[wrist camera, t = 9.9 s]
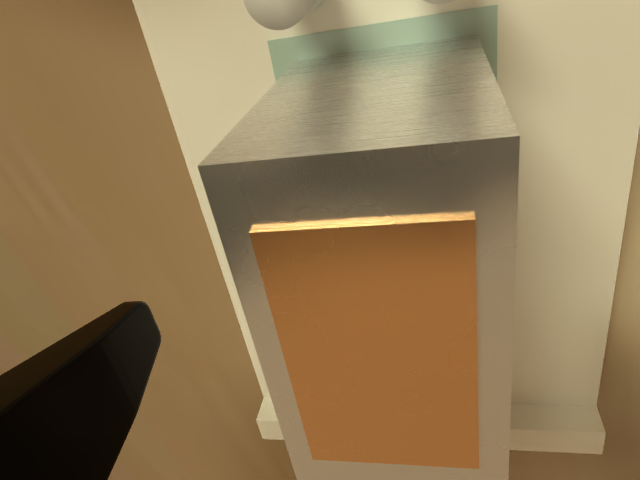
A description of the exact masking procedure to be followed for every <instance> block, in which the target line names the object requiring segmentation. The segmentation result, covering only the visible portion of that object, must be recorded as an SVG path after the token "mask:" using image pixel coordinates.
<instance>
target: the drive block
mask: <svg viewBox="0 0 640 480" xmlns="http://www.w3.org/2000/svg"><path fill="white" fill-rule="evenodd" d="M519 149H520V135H519V132H518V130H517V128H516V125H515V123H514V121H513V118H512V116H511V114H510V111H509V109H508V107H507V104H506V102H505V100H504V97H503V95H502V93H501V90H500V88H499V86H498V83H497V81H496V78H495V76H494V74H493V71H492V69H491V67H490V64H489V62H488V60H487V57H486V55H485V53H484V50H483V48H482V46H481V43H480V41H479V39H478V36H477V35H472V36H465V37H458V38H451V39H443V40H436V41H429V42H422V43H415V44H408V45H401V46H394V47H387V48H380V49H373V50H366V51H359V52H352V53H345V54H338V55H331V56H324V57H317V58H310V59H303V60H296V61H295V62H294V63H293V64H292V65H291V66H290V68H289V69H288V70H287V71H286V72H285V73H284V74H283V75H282V76H281V77H280V78H279V79H278V80H277V81H276V83H275V84H274V85H273V86H272V87H271V88H270V89H269V90H268V91H267V92H266V93H265V94H264V95H263V96H262V98H261V99H260V100H259V101H258V102H257V103H256V104H255V105H254V106H253V107H252V108H251V109H250V110H249V111H248V113H247V114H246V115H245V116H244V117H243V118H242V119H241V120H240V121H239V122H238V123H237V124H236V125H235V126H234V128H233V129H232V130H231V131H230V132H229V133H228V134H227V135H226V136H225V137H224V138H223V139H222V140H221V141H220V143H219V144H218V145H217V146H216V147H215V148H214V149H213V150H212V151H211V152H210V153H209V154H208V155H207V156H206V157H205V159H204V160H203V161H202V162H201V163H200V164H199V165H198V169H199V173H200V176H201V179H202V182H203V185H204V188H205V192H206V195H207V198H208V201H209V204H210V207H211V210H212V214H213V217H214V220H215V223H216V226H217V229H218V233H219V236H220V239H221V242H222V245H223V248H224V252H225V255H226V258H227V261H228V264H229V267H230V270H231V274H232V277H233V280H234V283H235V286H236V289H237V293H238V296H239V299H240V302H241V305H242V308H243V311H244V315H245V318H246V321H247V324H248V327H249V330H250V334H251V337H252V340H253V343H254V346H255V349H256V353H257V356H258V359H259V362H260V365H261V368H262V371H263V375H264V378H265V381H266V384H267V387H268V390H269V394H270V397H271V400H272V403H273V406H274V409H275V412H276V416H277V419H278V422H279V425H280V428H281V431H282V435H283V438H284V441H285V444H286V447H287V450H288V454H289V457H290V460H291V463H292V466H293V469H294V472H295V476H296V479H297V480H508V479H509V449H510V419H511V389H512V359H513V329H514V299H515V269H516V239H517V209H518V179H519Z"/></svg>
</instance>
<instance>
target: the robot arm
mask: <svg viewBox="0 0 640 480" xmlns="http://www.w3.org/2000/svg"><path fill="white" fill-rule="evenodd" d="M160 342H161V335H160V331H159V329H158V326H157V324H156V322H155V320H154V317H153V315H152V313H151V310H150V308H149V306H148V305H147V304H146V303H145V302H142V301H132V302H124V303H122V304H120V305H118V306H117V307H115V308H113V309H112V310H110V311H108V312H106V313H105V314H103V315H101V316H100V317H98V318H96V319H95V320H93V321H91V322H90V323H88V324H86V325H85V326H83V327H81V328H80V329H78V330H76V331H74V332H73V333H71V334H69V335H68V336H66V337H64V338H63V339H61V340H59V341H58V342H56V343H54V344H53V345H51V346H49V347H48V348H46V349H44V350H42V351H41V352H39V353H37V354H36V355H34V356H32V357H31V358H29V359H27V360H26V361H24V362H22V363H21V364H19V365H17V366H16V367H14V368H12V369H10V370H9V371H7V372H5V373H4V374H2V375H0V480H108V478H109V475H110V473H111V471H112V469H113V466H114V464H115V462H116V460H117V457H118V455H119V453H120V451H121V449H122V446H123V444H124V442H125V440H126V437H127V435H128V433H129V431H130V428H131V426H132V424H133V422H134V419H135V417H136V414H137V412H138V409H139V406H140V404H141V401H142V398H143V395H144V392H145V389H146V386H147V383H148V380H149V377H150V374H151V371H152V368H153V365H154V362H155V359H156V356H157V353H158V350H159V347H160Z"/></svg>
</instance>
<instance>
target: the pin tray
mask: <svg viewBox="0 0 640 480" xmlns="http://www.w3.org/2000/svg"><path fill="white" fill-rule="evenodd" d="M132 1H133V4H134V7H135V10H136V13H137V16H138V19H139V22H140V25H141V28H142V31H143V34H144V37H145V40H146V43H147V46H148V49H149V52H150V55H151V58H152V61H153V64H154V67H155V70H156V73H157V76H158V79H159V82H160V85H161V88H162V91H163V94H164V97H165V100H166V103H167V106H168V109H169V112H170V115H171V118H172V122H173V125H174V128H175V131H176V134H177V137H178V140H179V143H180V146H181V149H182V152H183V155H184V158H185V161H186V164H187V167H188V170H189V173H190V176H191V179H192V182H193V185H194V188H195V191H196V194H197V197H198V200H199V203H200V206H201V209H202V212H203V215H204V218H205V221H206V224H207V227H208V230H209V233H210V236H211V239H212V242H213V245H214V248H215V251H216V254H217V257H218V261H219V264H220V267H221V270H222V273H223V276H224V279H225V282H226V285H227V288H228V291H229V294H230V297H231V300H232V303H233V306H234V309H235V312H236V315H237V318H238V321H239V324H240V327H241V330H242V333H243V336H244V339H245V342H246V345H247V348H248V351H249V354H250V357H251V360H252V363H253V366H254V369H255V372H256V375H257V378H258V381H259V384H260V387H261V390H262V393H263V397H264V399H263V402H262V404H261V407H260V410H259V413H258V416H257V419H256V421H257V424H258V427H259V430H260V433H261V436H262V438H263V439H276V440H284V438H283V435H282V431H281V428H280V425H279V422H278V419H277V416H276V412H275V409H274V406H273V403H272V400H271V397H270V394H269V390H268V387H267V384H266V381H265V378H264V375H263V371H262V368H261V365H260V362H259V359H258V356H257V353H256V349H255V346H254V343H253V340H252V337H251V334H250V330H249V327H248V324H247V321H246V318H245V315H244V311H243V308H242V305H241V302H240V299H239V296H238V293H237V289H236V286H235V283H234V280H233V277H232V274H231V270H230V267H229V264H228V261H227V258H226V255H225V252H224V248H223V245H222V242H221V239H220V236H219V233H218V229H217V226H216V223H215V220H214V217H213V214H212V210H211V207H210V204H209V201H208V198H207V195H206V192H205V188H204V185H203V182H202V179H201V176H200V173H199V169H198V165H199V164H200V163H201V162H202V161H203V160H204V159H205V157H206V156H207V155H208V154H209V153H210V152H211V151H212V150H213V149H214V148H215V147H216V146H217V145H218V144H219V143H220V141H221V140H222V139H223V138H224V137H225V136H226V135H227V134H228V133H229V132H230V131H231V130H232V129H233V128H234V126H235V125H236V124H237V123H238V122H239V121H240V120H241V119H242V118H243V117H244V116H245V115H246V114H247V113H248V111H249V110H250V109H251V108H252V107H253V106H254V105H255V104H256V103H257V102H258V101H259V100H260V99H261V98H262V96H263V95H264V94H265V93H266V92H267V91H268V90H269V89H270V88H271V87H272V86H273V85H274V84H275V83H276V81H277V80H278V79H279V78H280V77H281V76H282V75H283V74H284V73H285V72H286V71H287V70H288V69H289V68H290V66H291V65H292V64H293V63H294V62H295V61H296V60H303V59H310V58H317V57H324V56H331V55H338V54H345V53H352V52H359V51H366V50H373V49H380V48H387V47H394V46H401V45H408V44H415V43H422V42H429V41H436V40H443V39H451V38H458V37H465V36H472V35H477V36H478V39H479V41H480V43H481V46H482V48H483V50H484V53H485V55H486V57H487V60H488V62H489V64H490V67H491V69H492V71H493V74H494V76H495V78H496V81H497V83H498V86H499V88H500V90H501V93H502V95H503V97H504V100H505V102H506V104H507V107H508V109H509V111H510V114H511V116H512V118H513V121H514V123H515V125H516V128H517V130H518V132H519V135H520V149H519V179H518V209H517V239H516V269H515V299H514V329H513V359H512V389H511V419H510V449H509V450H519V451H541V452H563V453H585V454H602V453H603V447H604V441H605V436H606V431H605V428H604V426H603V423H602V420H601V417H600V414H599V411H598V408H597V400H598V393H599V387H600V380H601V374H602V367H603V361H604V354H605V348H606V341H607V335H608V328H609V322H610V315H611V309H612V303H613V296H614V290H615V283H616V277H617V270H618V264H619V257H620V251H621V244H622V238H623V231H624V225H625V218H626V212H627V205H628V199H629V193H630V186H631V180H632V173H633V167H634V160H635V154H636V147H637V141H638V134H639V128H640V0H132Z"/></svg>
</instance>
